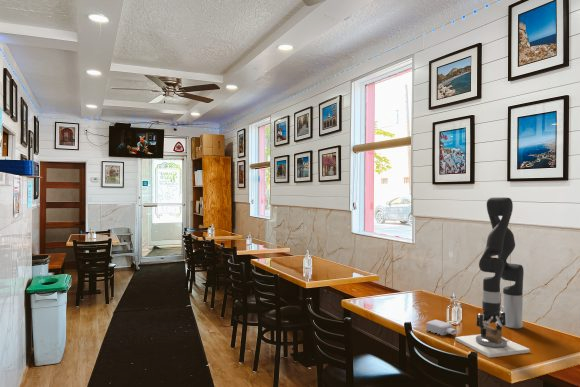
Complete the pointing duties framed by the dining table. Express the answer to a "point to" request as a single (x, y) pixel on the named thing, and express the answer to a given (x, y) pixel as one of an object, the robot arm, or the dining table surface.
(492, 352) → the dial plate
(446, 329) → the grey elongated piece
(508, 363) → the dining table surface
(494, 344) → the dial
